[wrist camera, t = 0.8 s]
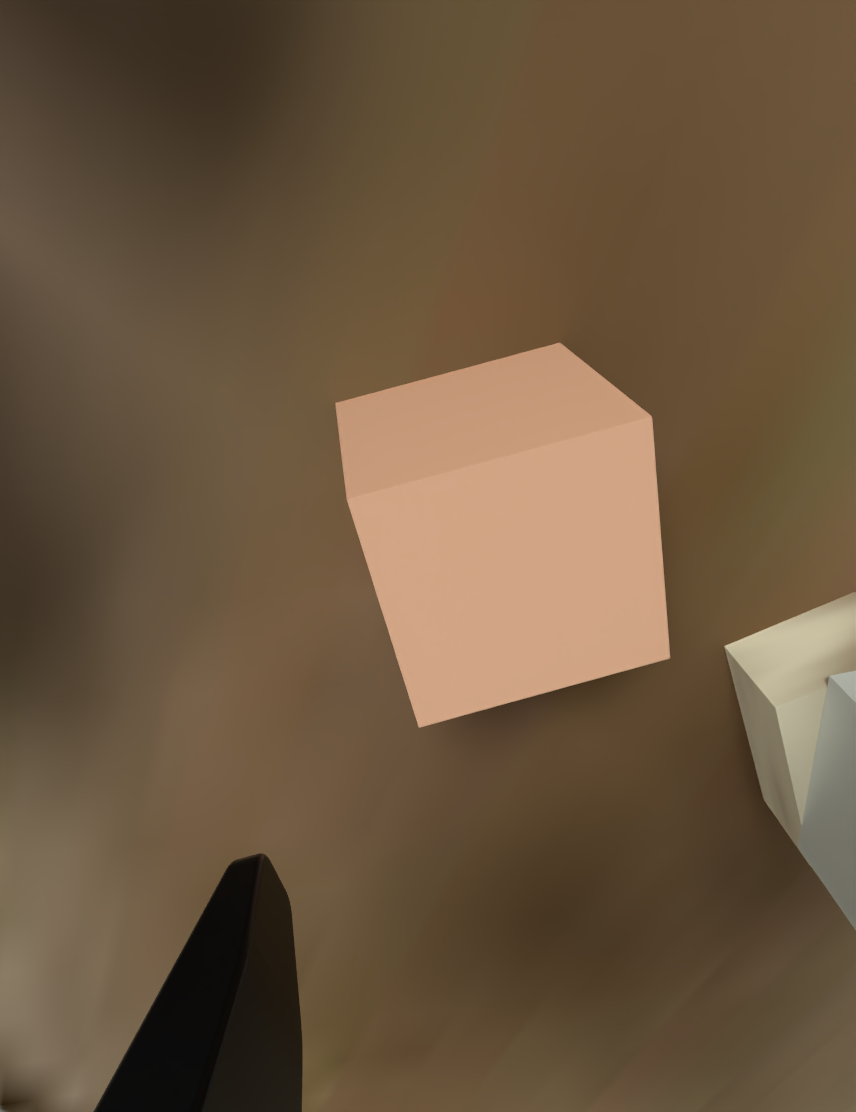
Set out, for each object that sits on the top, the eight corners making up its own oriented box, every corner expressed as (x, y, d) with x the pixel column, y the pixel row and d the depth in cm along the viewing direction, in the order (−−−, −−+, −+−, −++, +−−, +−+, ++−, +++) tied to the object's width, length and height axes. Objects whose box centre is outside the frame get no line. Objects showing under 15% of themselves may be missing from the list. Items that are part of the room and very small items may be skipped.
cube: (559, 342, 16) (651, 416, 12) (585, 537, 19) (670, 658, 14) (335, 401, 16) (346, 499, 12) (392, 590, 19) (418, 727, 14)
